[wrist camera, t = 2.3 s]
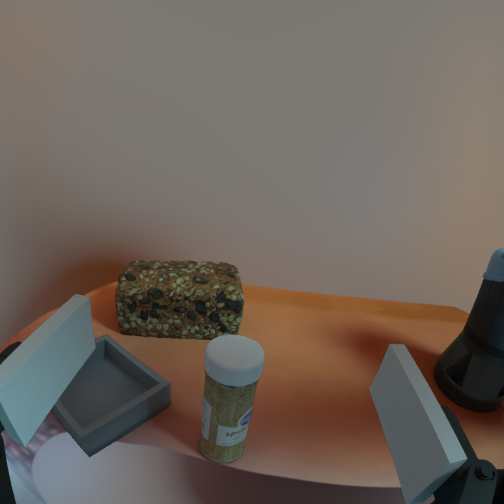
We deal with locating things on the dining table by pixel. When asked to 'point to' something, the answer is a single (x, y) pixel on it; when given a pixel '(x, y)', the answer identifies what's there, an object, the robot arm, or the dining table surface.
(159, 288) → the bread
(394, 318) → the dining table surface
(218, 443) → the sprinkles bottle
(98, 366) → the tray
